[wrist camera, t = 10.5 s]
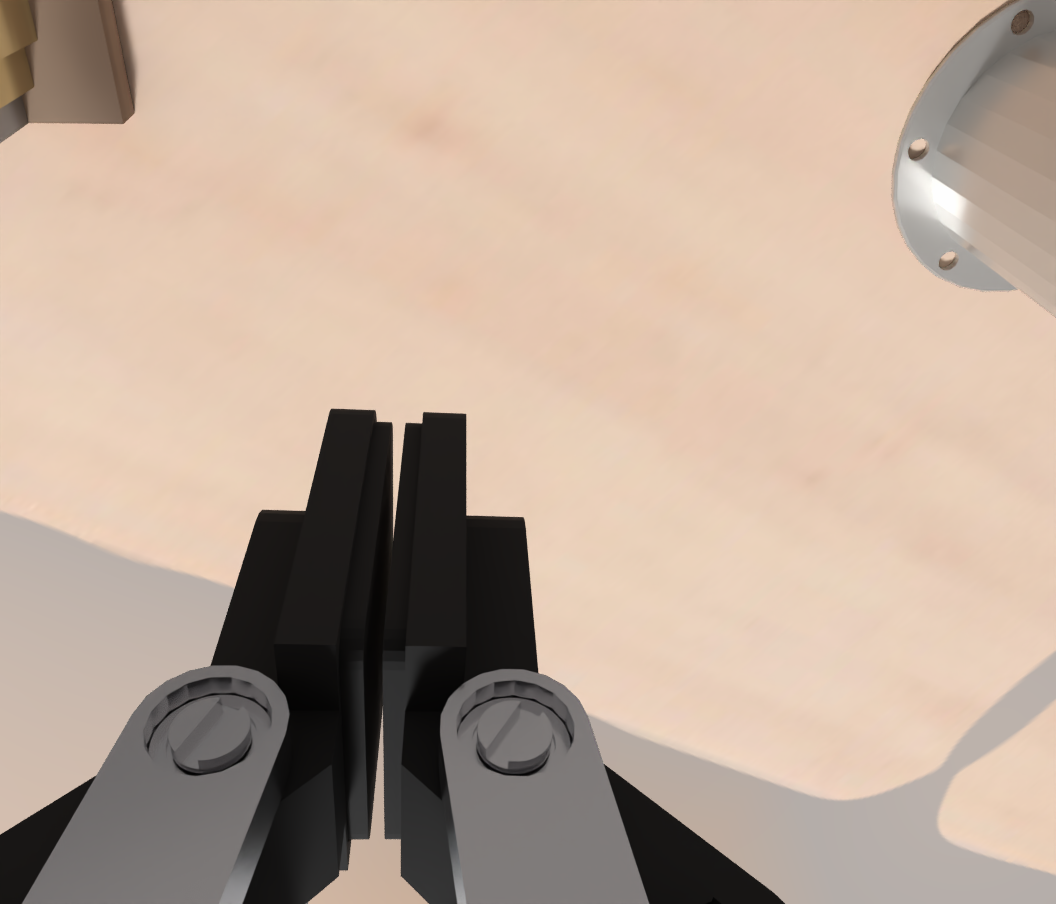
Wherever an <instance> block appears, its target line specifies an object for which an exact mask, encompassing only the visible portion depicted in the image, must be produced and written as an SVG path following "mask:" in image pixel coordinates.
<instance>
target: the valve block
mask: <svg viewBox="0 0 1056 904" xmlns="http://www.w3.org/2000/svg"><path fill="white" fill-rule="evenodd" d="M133 114H134V109H133V104H132V99H131V94H130V89H129V84H128V79H127V74H126V69H125V64H124V59H123V54H122V49H121V44H120V39H119V34H118V29H117V24H116V19H115V14H114V9H113V4H112V0H0V143H1V142H2V141H4V140H5V139H7V138H8V137H10V136H11V135H12V134H14V133H15V132H17V131H18V130H19V129H21V128H22V127H24V126H25V125H26V124H28V123H90V124H124V123H125V122H126V121H127V120H128V119H129V118H130V117H131V116H132V115H133Z"/></svg>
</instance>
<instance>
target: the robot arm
mask: <svg viewBox="0 0 1056 904" xmlns="http://www.w3.org/2000/svg"><path fill="white" fill-rule="evenodd" d="M1023 10H1027V11H1028V13H1029V22H1028V24H1027V26H1026V28H1025V29H1024V30H1022V31H1021V32H1020V33H1016V34H1013V32H1012V30H1011V22H1012V20H1013V18H1014V17H1015V15H1017V14H1018V13H1019V12H1020V11H1023ZM918 139H924V140H925V142H926V148H925V150H924V152H923V153H922V154H921V155H920V156H919V157H917V158H913V159H911V158H909V156H908V149H909V147H910V145H911V144H912V143H913V142H914V141H915V140H918ZM891 189H892V195H891V196H892V204H893V210H894V215H895V220H896V224H897V227H898V229H899V231H900V234H901V236H902V238H903V240H904V242H905V244H906V246H907V247H908V249H909V250H910V251H911V253H912V254H913V255H914V257H915V258H916V259H917V260H918V261H919V262H920V263H921V264H922V265H923V266H924V267H925V268H926V269H928V270H929V271H930V272H931V273H933V274H934V275H935V276H937V277H938V278H940V279H942V280H945V281H947V282H949V283H951V284H954V285H956V286H958V287H961V288H966V289H972V290H977V291H982V292H1009V291H1014V290H1020V291H1021V292H1022V293H1024V294H1025V295H1026V296H1028V297H1029V298H1030V299H1032V300H1033V301H1034V302H1035V303H1037V304H1038V305H1039V306H1041V307H1042V308H1043V309H1045V310H1046V311H1047V312H1049V313H1050V314H1051V315H1053V316H1054V317H1055V318H1056V0H1016V1H1014V2H1012V3H1010V4H1008V5H1006V6H1005V7H1003V8H1001V9H1000V10H999V11H997V12H996V13H994V14H993V15H991V16H990V17H989V18H987V19H986V20H985V21H983V22H982V23H980V24H979V25H978V26H976V27H975V28H974V29H973V30H972V31H971V32H970V33H969V34H968V35H966V36H965V37H964V38H963V39H962V40H961V41H960V42H959V43H958V44H957V45H956V46H955V47H954V48H953V49H952V50H951V51H950V52H949V53H948V54H947V56H946V57H945V58H944V59H943V61H942V62H941V63H940V64H939V66H938V67H937V68H936V69H935V71H934V72H933V74H932V75H931V76H930V77H929V79H928V80H927V82H926V83H925V85H924V87H923V88H922V90H921V92H920V93H919V95H918V97H917V99H916V100H915V102H914V104H913V106H912V108H911V110H910V112H909V114H908V116H907V119H906V121H905V124H904V127H903V129H902V132H901V135H900V137H899V140H898V144H897V148H896V153H895V158H894V163H893V169H892V188H891ZM951 251H953V252H955V259H954V260H953V262H952V263H951V264H950V265H949V266H947V267H943V268H941V267H939V260H940V258H941V257H942V256H943V255H944V254H945V253H947V252H951ZM382 709H383V743H384V814H385V815H384V816H385V817H384V819H385V820H384V821H385V839H401V876H402V877H403V878H404V879H405V880H406V881H407V882H408V883H409V884H410V885H411V886H412V887H413V888H414V889H415V890H416V891H417V892H418V893H419V894H420V895H421V896H422V897H423V898H424V899H425V900H426V901H427V902H428V903H429V904H785V903H784V902H783V901H782V900H781V899H780V898H779V897H778V896H777V895H775V894H774V893H773V892H772V891H771V890H769V889H768V888H767V887H765V886H764V885H763V884H761V883H760V882H759V881H757V880H756V879H755V878H754V877H752V876H751V875H749V874H748V873H747V872H746V871H744V870H743V869H742V868H740V867H739V866H738V865H736V864H735V863H734V862H732V861H731V860H730V859H729V858H727V857H726V856H725V855H723V854H722V853H721V852H719V851H718V850H717V849H715V848H714V847H713V846H711V845H710V844H709V843H707V842H706V841H705V840H703V839H702V838H701V837H700V836H698V835H697V834H695V833H694V832H693V831H692V830H690V829H689V828H688V827H686V826H685V825H684V824H682V823H681V822H680V821H678V820H677V819H676V818H674V817H673V816H672V815H671V814H669V813H668V812H667V811H665V810H664V809H662V808H661V807H660V806H659V805H657V804H656V803H655V802H653V801H652V800H651V799H649V798H648V797H647V796H645V795H644V794H643V793H642V792H640V791H639V790H638V789H636V788H635V787H634V786H632V785H631V784H630V783H628V782H627V781H626V780H624V779H623V778H622V777H620V776H619V775H618V774H616V773H615V772H614V771H613V770H611V769H610V768H608V767H607V766H606V765H605V764H603V761H602V758H601V755H600V751H599V748H598V745H597V742H596V739H595V736H594V733H593V730H592V727H591V724H590V721H589V718H588V716H587V714H586V712H585V710H584V708H583V706H582V704H581V703H580V701H579V699H578V698H577V697H576V696H575V695H574V694H573V693H572V692H571V691H569V690H568V689H567V688H566V687H565V686H564V685H563V684H561V683H559V682H557V681H555V680H553V679H552V678H550V677H548V676H546V675H543V674H539V673H538V664H537V652H536V641H535V629H534V618H533V606H532V595H531V584H530V572H529V561H528V549H527V538H526V527H525V520H524V518H523V517H495V516H466V414H456V413H430V412H423V422H422V424H420V423H406V425H405V434H404V443H403V453H402V462H401V472H400V481H399V491H398V500H397V510H396V519H395V529H394V538H393V426H392V422H377V419H376V411H375V410H353V409H331V410H330V413H329V417H328V421H327V425H326V429H325V433H324V437H323V441H322V446H321V450H320V454H319V458H318V462H317V466H316V470H315V474H314V479H313V483H312V487H311V491H310V495H309V499H308V503H307V508H306V511H284V510H262V511H261V512H260V513H259V515H258V517H257V519H256V522H255V525H254V528H253V532H252V535H251V538H250V541H249V544H248V548H247V551H246V554H245V557H244V560H243V564H242V567H241V570H240V573H239V576H238V580H237V583H236V586H235V589H234V592H233V596H232V599H231V602H230V605H229V608H228V612H227V615H226V618H225V621H224V625H223V628H222V631H221V634H220V637H219V641H218V644H217V647H216V650H215V653H214V656H213V660H212V663H211V666H209V667H204V668H200V669H195V670H190V671H188V672H185V673H183V674H181V675H179V676H177V677H175V678H172V679H170V680H168V681H166V682H165V683H163V684H162V685H161V686H159V687H158V688H157V689H155V690H154V691H153V692H151V693H150V694H149V695H147V696H146V697H145V699H144V700H143V701H142V703H141V704H140V705H139V706H138V707H137V709H136V710H135V711H134V713H133V714H132V716H131V717H130V719H129V721H128V722H127V724H126V726H125V728H124V729H123V731H122V733H121V735H120V736H119V738H118V740H117V741H116V743H115V745H114V747H113V748H112V750H111V752H110V753H109V755H108V757H107V758H106V760H105V762H104V764H103V765H102V767H101V769H100V770H99V772H98V774H97V775H96V776H95V777H93V778H92V779H90V780H88V781H87V782H85V783H84V784H82V785H80V786H78V787H77V788H75V789H74V790H72V791H70V792H69V793H67V794H66V795H64V796H62V797H61V798H59V799H58V800H56V801H54V802H53V803H51V804H49V805H48V806H46V807H44V808H43V809H41V810H40V811H38V812H36V813H35V814H33V815H31V816H30V817H28V818H27V819H25V820H23V821H22V822H20V823H19V824H17V825H15V826H14V827H12V828H10V829H9V830H7V831H5V832H4V833H2V834H1V835H0V904H308V901H310V900H311V899H312V898H313V897H314V896H316V895H317V894H318V893H319V892H321V891H322V890H323V889H324V888H325V887H326V886H328V885H329V884H330V883H331V882H332V881H334V880H335V879H336V878H337V877H338V876H339V870H348V864H349V854H350V847H351V839H369V838H370V831H371V822H372V811H373V801H374V791H375V781H376V770H377V760H378V750H379V739H380V728H381V719H382Z"/></svg>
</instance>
